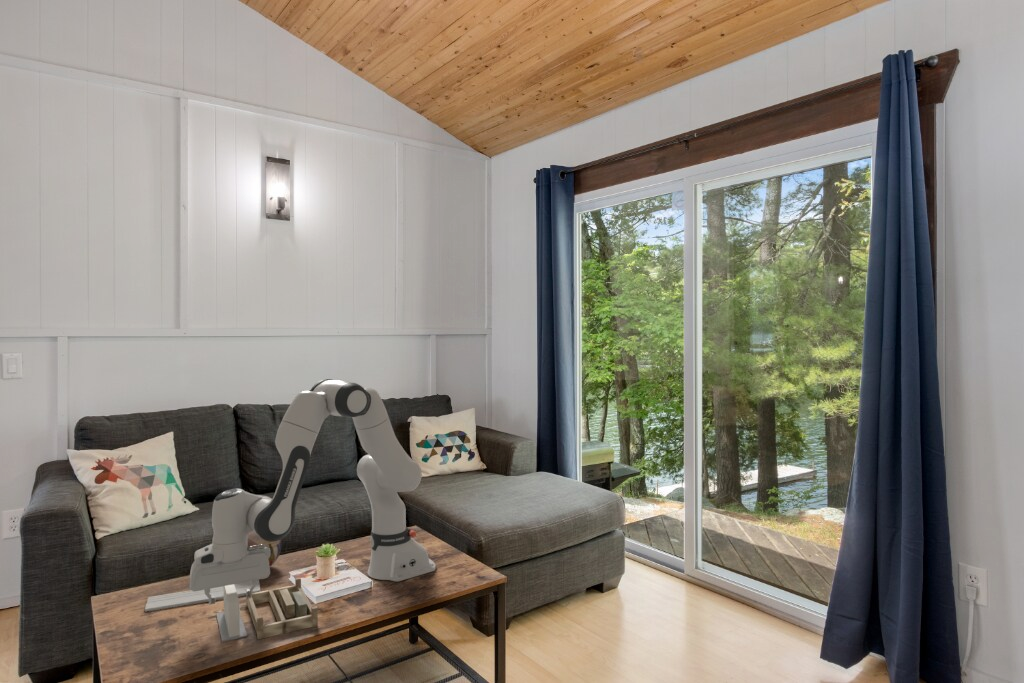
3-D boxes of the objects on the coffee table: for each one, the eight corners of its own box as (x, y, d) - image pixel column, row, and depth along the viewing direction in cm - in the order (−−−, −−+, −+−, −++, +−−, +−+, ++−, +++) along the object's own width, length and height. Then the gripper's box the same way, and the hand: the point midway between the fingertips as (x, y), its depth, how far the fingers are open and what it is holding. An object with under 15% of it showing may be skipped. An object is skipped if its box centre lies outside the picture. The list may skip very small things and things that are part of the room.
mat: (239, 610, 183) (239, 608, 183) (246, 636, 167) (246, 635, 167) (216, 614, 180) (216, 613, 180) (221, 642, 165) (221, 640, 165)
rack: (300, 593, 195) (300, 577, 195) (317, 625, 173) (317, 607, 173) (246, 604, 187) (246, 587, 187) (257, 639, 166) (257, 620, 166)
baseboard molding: (149, 598, 193) (144, 614, 182) (149, 588, 193) (144, 604, 182) (258, 580, 206) (260, 595, 195) (258, 571, 206) (260, 585, 195)
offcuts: (296, 598, 191) (296, 583, 191) (307, 619, 177) (306, 603, 177) (279, 601, 189) (279, 586, 188) (289, 623, 175) (289, 607, 175)
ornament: (279, 576, 208) (278, 531, 207) (229, 581, 204) (229, 535, 204) (283, 560, 222) (283, 517, 222) (237, 564, 219) (237, 521, 218)
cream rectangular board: (233, 611, 182) (232, 580, 181) (239, 634, 168) (239, 601, 167) (223, 613, 180) (223, 581, 180) (229, 637, 166) (229, 603, 166)
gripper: (268, 539, 181) (269, 587, 182) (188, 552, 171) (189, 603, 172) (272, 546, 176) (272, 595, 176) (189, 560, 166) (190, 612, 166)
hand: (231, 599), depth 174 cm, fingers open, 8 cm apart
